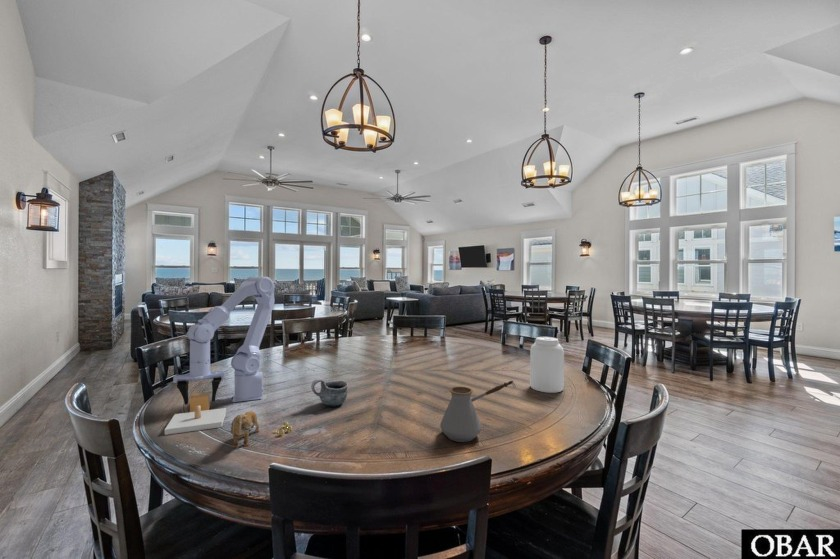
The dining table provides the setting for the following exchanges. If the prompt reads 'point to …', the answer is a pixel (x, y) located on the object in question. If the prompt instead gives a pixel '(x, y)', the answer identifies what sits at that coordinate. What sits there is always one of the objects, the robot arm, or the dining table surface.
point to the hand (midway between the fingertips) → (200, 402)
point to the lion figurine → (243, 427)
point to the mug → (331, 391)
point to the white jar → (547, 365)
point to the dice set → (284, 429)
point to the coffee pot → (464, 414)
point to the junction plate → (196, 420)
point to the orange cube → (200, 401)
